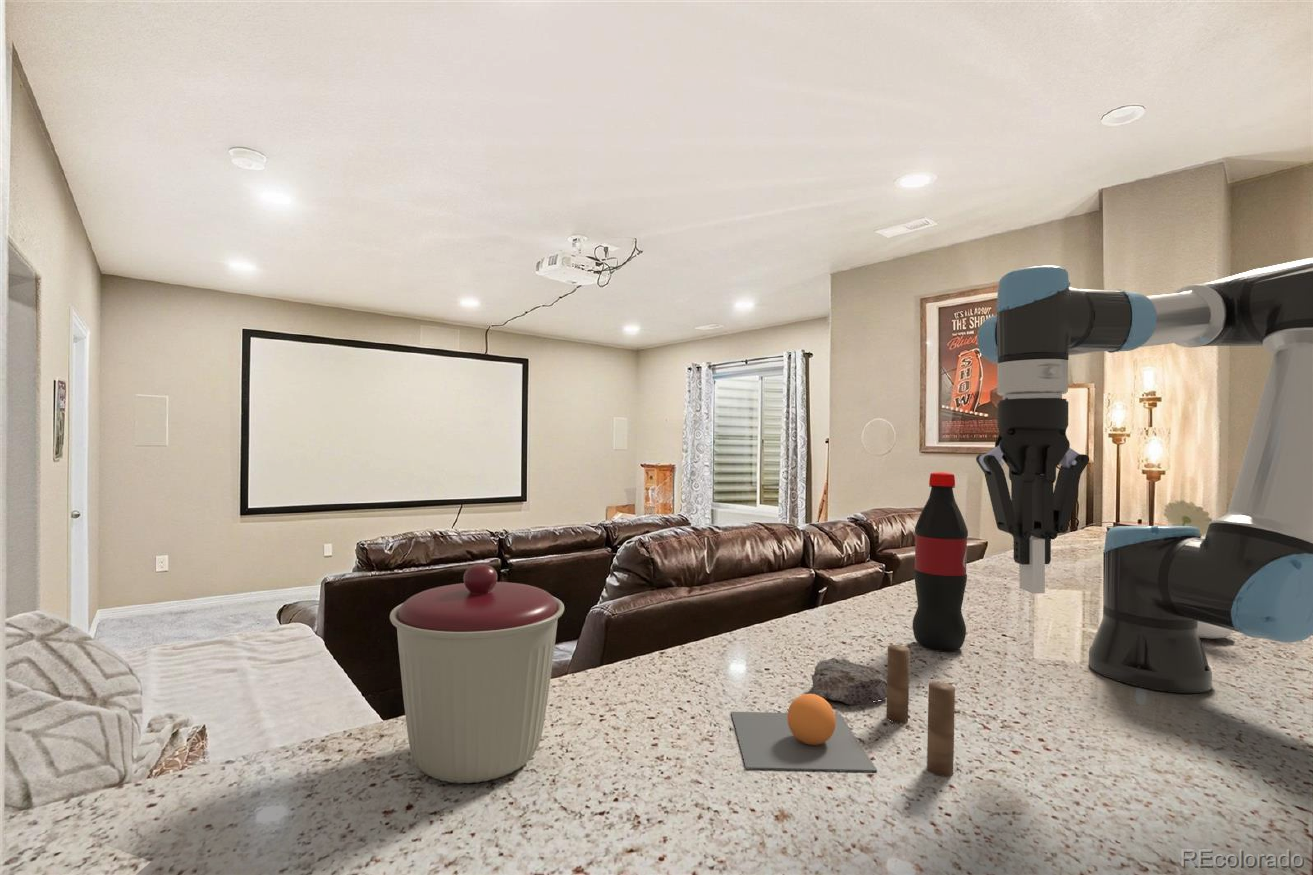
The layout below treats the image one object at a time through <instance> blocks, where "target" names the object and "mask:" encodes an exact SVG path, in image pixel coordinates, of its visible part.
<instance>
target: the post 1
mask: <svg viewBox="0 0 1313 875" xmlns="http://www.w3.org/2000/svg"><path fill="white" fill-rule="evenodd" d="M910 653H911V652H910V648H909V647H907V646H904V645H900V644H890V645H888V646H887V672H886V683H887V698H886V711H885V712H886V714H885V715H886V716H885V717H886V719H887V720H888V719H889V720H891V721H893V722H892V723H894V724H900V723H902V724H907V723H908V722H909V698H910V697H909V696H910V694H909V693H910V692H909V691H910ZM889 720H888V721H889ZM891 721H890V722H891Z"/></svg>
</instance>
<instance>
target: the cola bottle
mask: <svg viewBox="0 0 1313 875" xmlns="http://www.w3.org/2000/svg"><path fill="white" fill-rule="evenodd" d="M955 479H956V478H955V474H953V473H949V472H942V471H939V472H932V473H930V475H929V482H928V483H929V485H928V487H931V489H930V493H929V495H928V496H929V497H928V499H927V501H926V502H925V505H924V507H923V509H922V511H921V512H920V514H919V517H918V519H917V522H916V523H915V526H914V533H915V538H914V539H915V541H914V542H915V546H914V550H915V551H914V570H913V577H914V585H915V593H916V599H917V607H916V608H917V609H916V611H915V613H914V616H913V618H912V619H913V620H912V633H913V637H914V640H915V641H916V643H917V644H919V645H920V646H921V647H922V648H926V649H928V650H931V651H936V652H948V653H949V652H955V651H958V650H960V649H961V648H962V646H963V644H964V643H965V640H966V636H967V626H966V622H965V619H964V617H963V611H962V607H963V602H964V596H965V591H966V586H967V582H968V574H967V557H968V555H967V554H968V553H967V552H968V536H969V530H968V527H967V524H966V522H965V520H964V517H963V515H962V512H961V510H960V508H959V506H958V504H957V502H956V499H955V495H954V489H955V488H956V480H955Z"/></svg>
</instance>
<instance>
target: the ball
mask: <svg viewBox="0 0 1313 875" xmlns="http://www.w3.org/2000/svg"><path fill="white" fill-rule="evenodd" d="M787 713H788V714H787V720H788V725H789V728H790V730H791V732H792V733H793V735H794V736H795V737H796V738H797V739H798V740H800V741H801V742H803V743H805V744H808V745H819V744H822V743H824V742H826V741H827V740H828V739H829V738H830V737H831V736H832V734H833V732H834V730H835V725H836V718H835V714H836V713H835V712H834V708H833V707H832V706H831V704H830V703H829V701H827V699H825V698H822V697H820V696H818V695H815V694H814V693H804V694H801V695H799V696H797V697H796V698H795V699H793V700H792V702H791V703H790V704H789V707H788V710H787Z"/></svg>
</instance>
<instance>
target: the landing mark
mask: <svg viewBox="0 0 1313 875" xmlns="http://www.w3.org/2000/svg"><path fill="white" fill-rule="evenodd" d="M787 714H788V712H771V711H770V712H769V711H768V712H767V711H766V712H765V711H764V712H763V711H762V712H761V711H760V712H759V711H758V712H757V711H731V716H732V717H733V718H732V721H734V722H733V725H735V726H734V728H736V729H735V733H736V732H737V733H736V736H737V740H739V741H738V743H739V744H740V745H739V744H738V745H739V747H741V748H740V751H742V752H741V755H743V756H742V760H743V759H744V760H743V763H745V764H744V767H745V770H761V769H774V770H773V771H776V769H779V770H778V771H809V770H826V771H825V772H856V771H877V772H878V769H877V768H876V766H875V765H874V763H873V761H872V760H871V758H870V757H869V755H868V754H867V751H865V748H863V746H862V744H861V743H860V742H859V740H858V739H857V737H856V735H855V734H854V732H853V731H852V729H851V727H850V726H849V725H848V723H847V721H846V720H845V719H844V717H843V716H842V714H841V713H834V714H835V718H836V725H835V730H834V732H833V734H832V736H831V737H830V738H829V739H828V740H827V741H826V742H824V743H822V744H819V745H808V744H805V743H803V742H801V741H800V740H798V739H797V738H796V737H795V736H794V735H793V733H792V732H791V730H790V728H789V725H788V720H787ZM828 770H829V771H828ZM832 770H833V771H832ZM836 770H837V771H836ZM840 770H842V771H840ZM844 770H846V771H844Z"/></svg>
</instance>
